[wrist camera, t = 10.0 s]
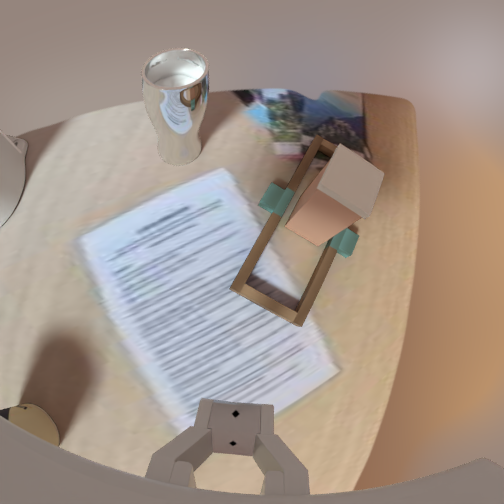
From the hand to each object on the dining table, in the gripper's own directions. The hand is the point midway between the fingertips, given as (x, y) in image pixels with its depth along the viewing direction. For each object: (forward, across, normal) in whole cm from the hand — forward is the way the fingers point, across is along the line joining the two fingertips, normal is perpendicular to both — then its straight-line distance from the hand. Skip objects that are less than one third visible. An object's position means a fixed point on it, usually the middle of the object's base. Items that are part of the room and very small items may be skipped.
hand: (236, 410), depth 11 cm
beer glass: (+32, +11, -10) cm, 35 cm away
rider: (+30, -7, -2) cm, 30 cm away
